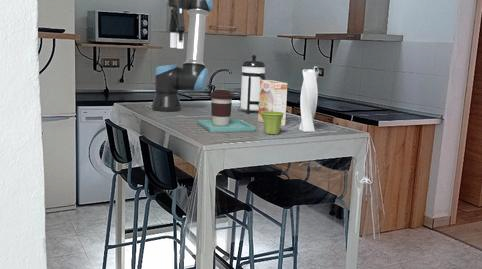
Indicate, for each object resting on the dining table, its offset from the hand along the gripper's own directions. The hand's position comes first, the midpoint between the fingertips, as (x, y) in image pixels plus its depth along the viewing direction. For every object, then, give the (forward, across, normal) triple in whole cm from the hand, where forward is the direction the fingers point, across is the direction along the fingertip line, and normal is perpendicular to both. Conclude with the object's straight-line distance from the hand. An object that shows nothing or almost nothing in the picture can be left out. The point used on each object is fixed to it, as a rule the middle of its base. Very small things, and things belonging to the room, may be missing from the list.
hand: (176, 48), depth 217 cm
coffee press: (+33, -28, +48) cm, 65 cm away
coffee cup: (+32, +11, +18) cm, 39 cm away
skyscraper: (+33, +27, +52) cm, 67 cm away
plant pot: (+33, +30, +34) cm, 56 cm away
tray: (+33, +15, +19) cm, 41 cm away
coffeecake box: (+33, +6, +44) cm, 55 cm away
